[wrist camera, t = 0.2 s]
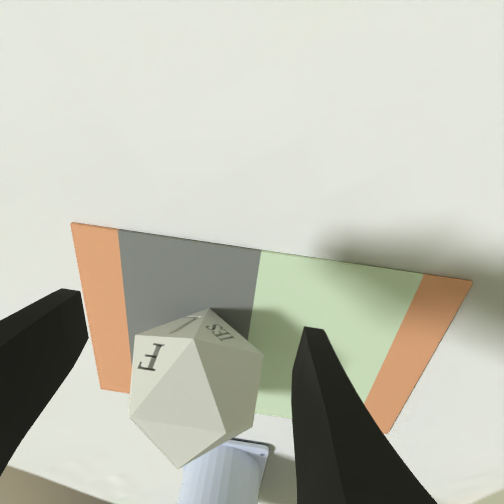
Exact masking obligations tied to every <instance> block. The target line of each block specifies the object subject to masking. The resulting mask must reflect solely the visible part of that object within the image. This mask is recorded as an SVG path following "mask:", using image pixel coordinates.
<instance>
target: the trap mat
mask: <svg viewBox="0 0 504 504" xmlns="http://www.w3.org/2000/svg"><path fill="white" fill-rule="evenodd" d="M70 225H71V230H72V235H73V241H74V246H75V252H76V257H77V263H78V268H79V273H80V279H81V284H82V290H83V295H84V301H85V306H86V311H87V317H88V322H89V328H90V333H91V339H92V344H93V350H94V355H95V360H96V366H97V371H98V377H99V382H100V388H101V389H104V390H110V391H116V392H123V393H129V394H130V386H131V374H132V363H133V352H134V341H135V335H136V334H139V333H142V332H144V331H147V330H150V329H153V328H155V327H158V326H161V325H164V324H166V323H169V322H172V321H175V320H177V319H180V318H186V316H188V315H191V314H194V313H197V312H199V311H202V310H205V309H208V308H210V309H211V310H212V311H213V312H215V313H216V314H217V315H218V316H219V317H220V318H222V319H223V320H224V321H225V322H226V323H227V324H229V325H230V326H231V327H232V328H233V329H234V330H236V331H237V332H238V333H239V334H240V335H241V336H243V337H244V338H245V339H246V340H247V341H248V342H250V343H251V344H252V345H253V346H254V347H255V348H257V349H258V350H259V351H260V352H261V353H262V354H264V358H263V364H262V370H261V376H260V383H259V389H258V395H257V401H256V407H255V413H257V414H263V415H270V416H276V417H283V418H289V419H292V409H291V385H292V369H293V365H294V361H295V358H296V354H297V350H298V347H299V343H300V339H301V336H302V332H303V328H304V326H306V327H312V328H319V329H324V331H325V332H326V334H327V336H328V338H329V340H330V343H331V345H332V347H333V349H334V351H335V353H336V355H337V357H338V359H339V361H340V363H341V365H342V366H343V368H344V370H345V372H346V374H347V376H348V377H349V379H350V381H351V383H352V384H353V386H354V388H355V390H356V392H357V393H358V395H359V397H360V398H361V400H362V402H363V403H364V405H365V406H366V408H367V410H368V411H369V413H370V414H371V416H372V417H373V419H374V421H375V422H376V424H377V425H378V427H379V428H380V430H381V431H382V433H385V434H388V432H389V430H390V429H391V427H392V425H393V423H394V421H395V420H396V418H397V416H398V414H399V413H400V411H401V409H402V407H403V406H404V404H405V402H406V400H407V399H408V397H409V395H410V393H411V391H412V390H413V388H414V386H415V384H416V383H417V381H418V379H419V377H420V376H421V374H422V372H423V370H424V369H425V367H426V365H427V363H428V361H429V360H430V358H431V356H432V354H433V353H434V351H435V349H436V347H437V346H438V344H439V342H440V340H441V339H442V337H443V335H444V333H445V331H446V330H447V328H448V326H449V324H450V323H451V321H452V319H453V317H454V316H455V314H456V312H457V310H458V308H459V307H460V305H461V303H462V301H463V300H464V298H465V296H466V294H467V293H468V291H469V289H470V287H471V286H472V284H473V282H472V281H469V280H462V279H455V278H448V277H442V276H435V275H428V274H421V273H414V272H407V271H401V270H394V269H387V268H380V267H373V266H366V265H360V264H353V263H346V262H339V261H332V260H325V259H319V258H312V257H305V256H298V255H291V254H284V253H278V252H271V251H264V250H257V249H250V248H244V247H237V246H230V245H223V244H216V243H209V242H203V241H196V240H189V239H182V238H175V237H168V236H162V235H155V234H148V233H141V232H134V231H127V230H121V229H114V228H107V227H100V226H93V225H86V224H80V223H73V222H72V223H71V224H70Z"/></svg>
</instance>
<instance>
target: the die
mask: <svg viewBox="0 0 504 504" xmlns="http://www.w3.org/2000/svg"><path fill="white" fill-rule="evenodd" d="M263 358H264V354H262V353H261V352H260V351H259V350H258V349H257V348H255V347H254V346H253V345H252V344H251V343H250V342H248V341H247V340H246V339H245V338H244V337H243V336H241V335H240V334H239V333H238V332H237V331H236V330H234V329H233V328H232V327H231V326H230V325H229V324H227V323H226V322H225V321H224V320H223V319H222V318H220V317H219V316H218V315H217V314H216V313H215V312H213V311H212V310H211V309H210V308H208V309H205V310H202V311H199V312H197V313H194V314H191V315H188V316H186V318H180V319H177V320H175V321H172V322H169V323H166V324H164V325H161V326H158V327H155V328H153V329H150V330H147V331H144V332H142V333H139V334H136V335H135V341H134V352H133V363H132V374H131V386H130V397H129V417H130V419H131V420H132V421H133V422H134V423H135V424H136V425H137V426H138V427H139V429H140V430H141V431H142V432H143V433H144V434H145V435H146V436H147V437H148V438H149V439H150V440H151V441H152V443H153V444H154V445H155V446H156V447H157V448H158V449H159V450H160V451H161V452H162V453H163V454H164V455H165V457H166V458H167V459H168V460H169V461H170V462H171V463H172V464H173V465H174V466H175V467H176V468H177V469H179V468H181V467H183V466H184V465H186V464H188V463H190V462H191V461H193V460H195V459H197V458H198V457H200V456H202V455H204V454H205V453H207V452H209V451H211V450H212V449H214V448H216V447H218V446H219V445H221V444H223V443H225V442H226V441H228V440H230V439H232V438H233V437H235V436H237V435H239V434H241V433H242V432H244V431H246V430H248V429H249V428H251V427H252V426H253V420H254V413H255V407H256V401H257V395H258V389H259V383H260V376H261V370H262V364H263Z"/></svg>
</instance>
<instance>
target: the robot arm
mask: <svg viewBox="0 0 504 504" xmlns="http://www.w3.org/2000/svg"><path fill="white" fill-rule="evenodd" d="M88 338H89V337H88V332H87V326H86V321H85V315H84V309H83V304H82V298H81V293H80V291H75V290H69V289H62V288H61V289H59V290H57V291H55V292H53V293H51V294H49V295H47V296H45V297H44V298H42V299H40V300H38V301H36V302H34V303H32V304H30V305H29V306H27V307H25V308H23V309H21V310H19V311H18V312H16V313H14V314H12V315H10V316H8V317H6V318H4V319H3V320H1V321H0V476H1V474H2V472H3V471H4V469H5V467H6V466H7V464H8V462H9V460H10V459H11V457H12V455H13V454H14V452H15V450H16V449H17V447H18V446H19V444H20V443H21V441H22V439H23V438H24V436H25V435H26V433H27V432H28V431H29V429H30V428H31V426H32V425H33V424H34V422H35V421H36V419H37V418H38V416H39V415H40V414H41V412H42V411H43V409H44V408H45V407H46V405H47V404H48V402H49V401H50V400H51V398H52V397H53V395H54V394H55V393H56V391H57V390H58V388H59V387H60V385H61V384H62V383H63V381H64V380H65V378H66V377H67V375H68V374H69V372H70V371H71V369H72V368H73V366H74V365H75V363H76V361H77V359H78V357H79V356H80V354H81V352H82V350H83V348H84V346H85V344H86V342H87V340H88ZM291 409H292V423H293V437H294V450H295V463H296V476H297V504H437V502H436V501H435V500H434V499H433V498H432V497H431V495H430V494H429V493H428V492H427V491H426V489H425V488H424V487H423V486H422V485H421V484H420V482H419V481H418V480H417V478H416V477H415V476H414V475H413V473H412V472H411V471H410V469H409V468H408V467H407V466H406V464H405V463H404V462H403V460H402V459H401V458H400V456H399V455H398V454H397V452H396V451H395V449H394V448H393V447H392V445H391V444H390V443H389V441H388V440H387V438H386V437H385V435H384V434H383V433H382V431H381V430H380V428H379V427H378V425H377V424H376V422H375V421H374V419H373V417H372V416H371V414H370V413H369V411H368V410H367V408H366V406H365V405H364V403H363V402H362V400H361V398H360V397H359V395H358V393H357V392H356V390H355V388H354V386H353V384H352V383H351V381H350V379H349V377H348V376H347V374H346V372H345V370H344V368H343V366H342V365H341V363H340V361H339V359H338V357H337V355H336V353H335V351H334V349H333V347H332V345H331V343H330V340H329V338H328V336H327V334H326V332H325V331H324V329H319V328H312V327H306V326H304V328H303V332H302V336H301V339H300V343H299V347H298V350H297V354H296V358H295V361H294V365H293V369H292V385H291ZM268 454H269V447H268V446H266V445H260V444H254V443H248V442H241V441H235V440H228V441H226V442H225V443H223V444H221V445H219V446H218V447H216V448H214V449H212V450H211V451H209V452H207V453H205V454H204V455H202V456H200V457H198V458H197V459H195V460H193V461H191V462H190V463H188V464H186V465H184V470H183V480H182V484H181V488H180V492H179V496H178V500H177V504H258V494H259V489H260V485H261V481H262V477H263V473H264V470H265V466H266V462H267V458H268Z"/></svg>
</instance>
